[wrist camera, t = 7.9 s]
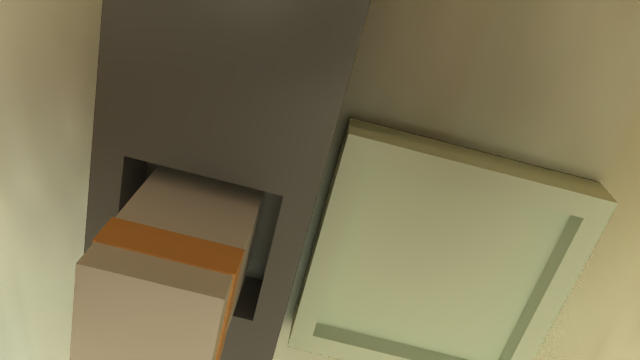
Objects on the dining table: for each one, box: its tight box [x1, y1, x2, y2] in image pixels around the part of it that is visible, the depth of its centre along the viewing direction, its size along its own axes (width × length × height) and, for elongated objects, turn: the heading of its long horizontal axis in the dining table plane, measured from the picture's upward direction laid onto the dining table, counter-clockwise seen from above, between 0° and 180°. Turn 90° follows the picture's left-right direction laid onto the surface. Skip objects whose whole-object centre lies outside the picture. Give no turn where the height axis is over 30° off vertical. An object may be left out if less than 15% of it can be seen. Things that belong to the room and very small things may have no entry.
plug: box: [70, 165, 266, 360], centre depth 17 cm, size 4×4×7 cm
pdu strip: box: [84, 0, 371, 360], centre depth 15 cm, size 7×20×8 cm, turn 166°
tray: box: [288, 118, 618, 360], centre depth 21 cm, size 9×9×2 cm
